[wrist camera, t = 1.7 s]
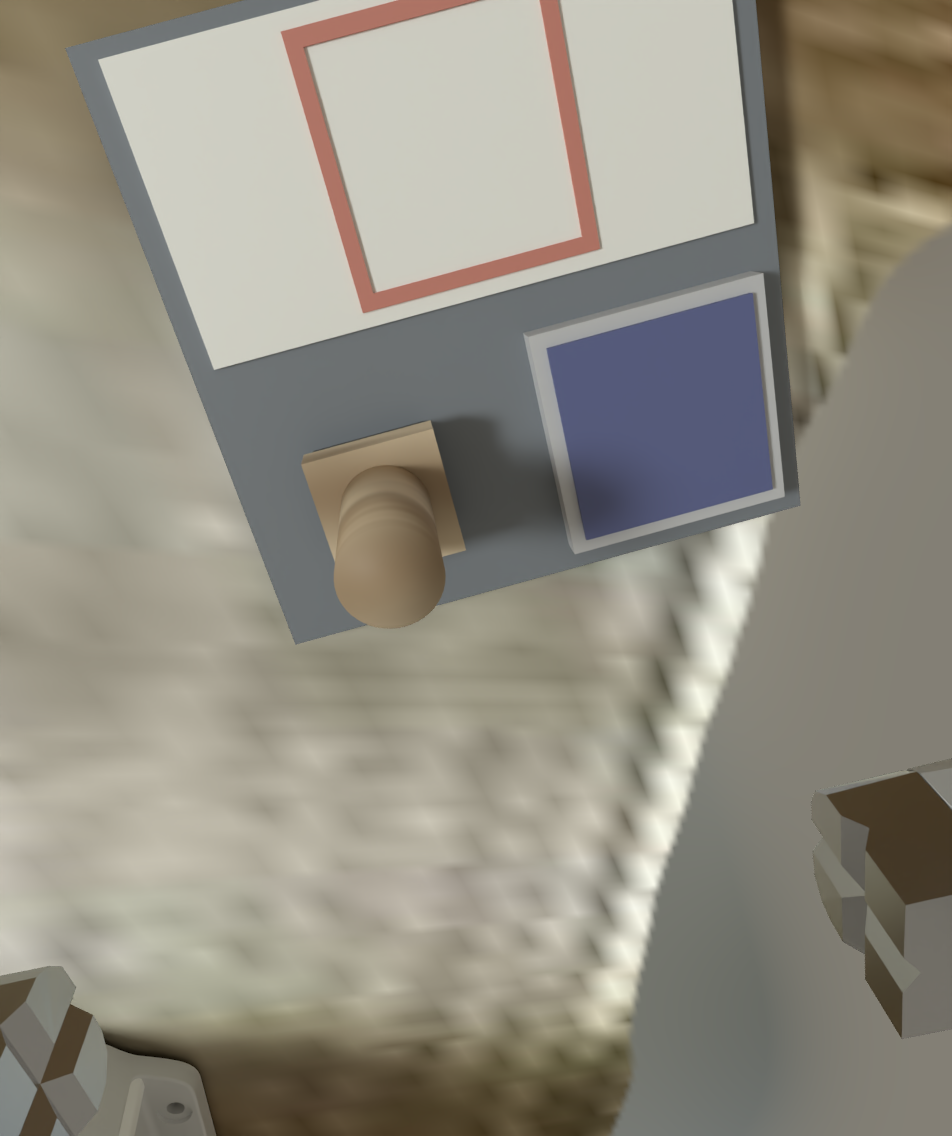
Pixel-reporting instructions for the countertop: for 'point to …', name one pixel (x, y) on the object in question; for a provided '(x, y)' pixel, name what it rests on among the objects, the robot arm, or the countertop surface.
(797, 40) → the countertop surface
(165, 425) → the countertop surface
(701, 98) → the stamping board
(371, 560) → the stamp
